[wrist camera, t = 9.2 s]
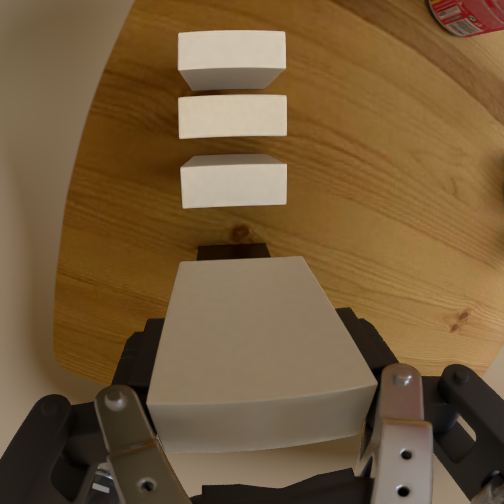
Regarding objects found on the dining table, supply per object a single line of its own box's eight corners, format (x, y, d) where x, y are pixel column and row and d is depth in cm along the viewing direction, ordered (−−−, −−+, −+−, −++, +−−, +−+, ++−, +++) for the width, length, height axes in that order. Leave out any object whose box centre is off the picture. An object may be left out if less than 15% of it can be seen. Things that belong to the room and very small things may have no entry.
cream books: (191, 64, 22) (178, 32, 14) (264, 62, 23) (285, 31, 15) (199, 251, 28) (191, 301, 20) (265, 248, 29) (283, 297, 21)
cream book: (179, 261, 15) (145, 403, 7) (302, 255, 16) (379, 383, 7) (184, 304, 16) (164, 452, 8) (299, 297, 17) (360, 434, 8)
